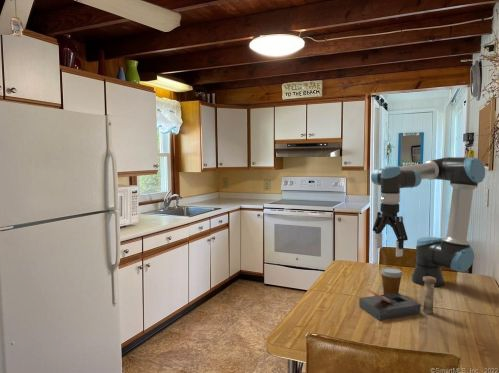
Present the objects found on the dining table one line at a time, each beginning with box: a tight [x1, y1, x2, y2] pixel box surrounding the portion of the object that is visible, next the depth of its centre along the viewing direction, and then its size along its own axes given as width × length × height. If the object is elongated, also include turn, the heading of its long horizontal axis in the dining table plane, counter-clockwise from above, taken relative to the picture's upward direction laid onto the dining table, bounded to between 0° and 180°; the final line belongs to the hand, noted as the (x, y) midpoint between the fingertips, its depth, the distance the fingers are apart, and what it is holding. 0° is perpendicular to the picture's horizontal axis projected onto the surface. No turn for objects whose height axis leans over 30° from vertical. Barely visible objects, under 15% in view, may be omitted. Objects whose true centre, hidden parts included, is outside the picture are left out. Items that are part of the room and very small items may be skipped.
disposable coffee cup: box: [380, 266, 403, 295], centre depth 174 cm, size 10×10×12 cm
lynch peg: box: [423, 276, 436, 315], centre depth 155 cm, size 5×5×15 cm
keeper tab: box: [366, 288, 393, 304], centre depth 156 cm, size 10×6×1 cm, turn 109°
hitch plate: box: [358, 292, 422, 321], centre depth 158 cm, size 20×14×4 cm
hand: (388, 252), depth 159 cm, fingers open, 13 cm apart
